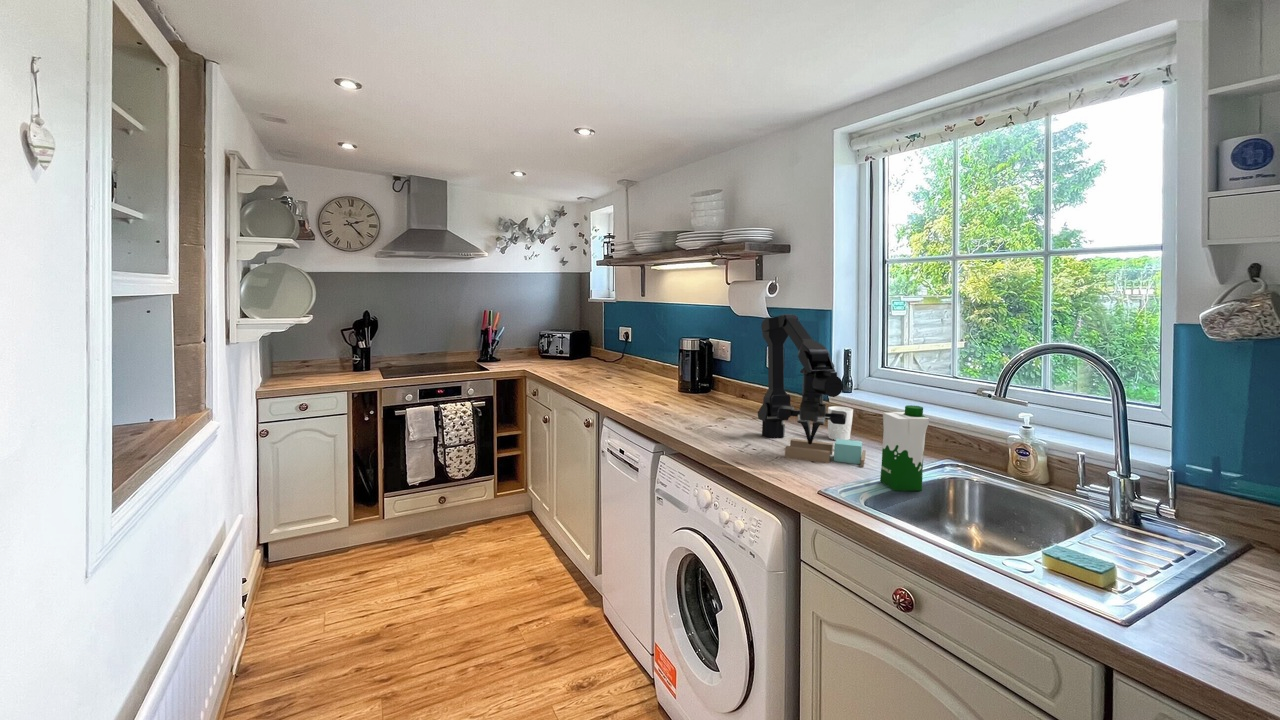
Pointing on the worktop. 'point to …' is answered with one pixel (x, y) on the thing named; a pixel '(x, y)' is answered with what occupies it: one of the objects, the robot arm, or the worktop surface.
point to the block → (848, 451)
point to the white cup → (838, 429)
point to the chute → (812, 451)
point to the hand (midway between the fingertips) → (810, 444)
